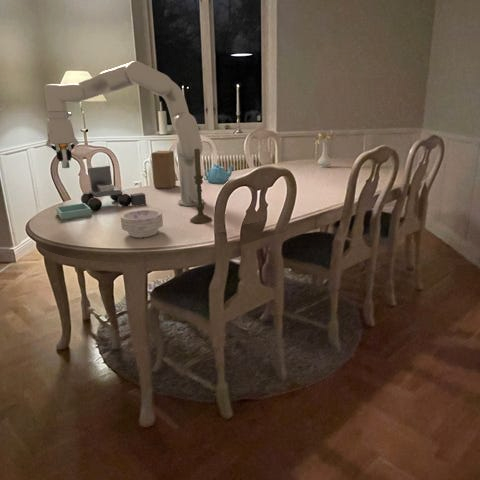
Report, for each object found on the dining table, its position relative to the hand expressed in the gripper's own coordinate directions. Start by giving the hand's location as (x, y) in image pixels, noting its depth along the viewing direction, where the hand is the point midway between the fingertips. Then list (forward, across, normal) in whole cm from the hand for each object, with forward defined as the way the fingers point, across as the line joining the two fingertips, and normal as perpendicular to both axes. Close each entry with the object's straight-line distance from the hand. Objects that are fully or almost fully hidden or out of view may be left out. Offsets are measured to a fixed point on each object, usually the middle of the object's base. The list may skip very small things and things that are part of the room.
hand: (64, 160), depth 183 cm
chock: (+24, -31, -2) cm, 39 cm away
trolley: (+24, -18, -9) cm, 31 cm away
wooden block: (+24, -58, -33) cm, 71 cm away
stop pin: (+3, 0, 0) cm, 3 cm away
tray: (+24, 0, 0) cm, 25 cm away
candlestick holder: (+24, -42, +42) cm, 65 cm away
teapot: (+24, -90, -26) cm, 96 cm away
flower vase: (+23, -172, -25) cm, 175 cm away
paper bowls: (+24, -16, +45) cm, 54 cm away
